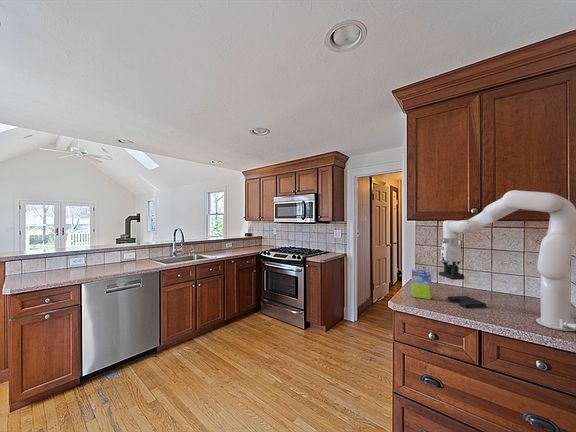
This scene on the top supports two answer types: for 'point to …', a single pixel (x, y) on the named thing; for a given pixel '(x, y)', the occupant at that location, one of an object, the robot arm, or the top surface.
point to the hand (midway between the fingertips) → (451, 272)
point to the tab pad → (456, 277)
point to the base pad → (467, 301)
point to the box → (421, 284)
